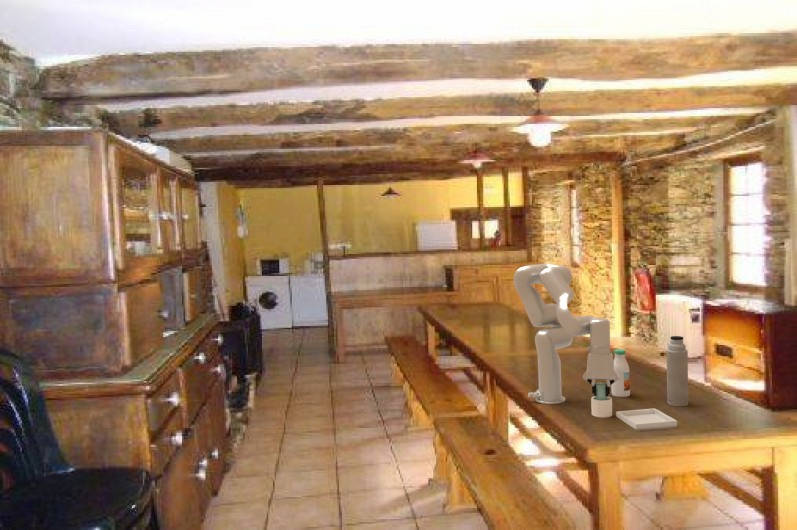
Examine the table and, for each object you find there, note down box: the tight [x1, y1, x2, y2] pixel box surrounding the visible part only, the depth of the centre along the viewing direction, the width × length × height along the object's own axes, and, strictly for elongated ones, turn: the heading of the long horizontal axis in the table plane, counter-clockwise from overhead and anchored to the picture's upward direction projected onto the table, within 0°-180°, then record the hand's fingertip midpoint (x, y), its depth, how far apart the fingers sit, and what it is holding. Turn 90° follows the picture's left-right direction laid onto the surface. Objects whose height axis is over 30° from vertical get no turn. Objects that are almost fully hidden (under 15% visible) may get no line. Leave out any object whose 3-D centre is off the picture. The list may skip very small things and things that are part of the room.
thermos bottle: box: [666, 335, 689, 407], centre depth 264 cm, size 8×8×28 cm
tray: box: [615, 408, 678, 432], centre depth 244 cm, size 16×16×2 cm
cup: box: [590, 395, 613, 418], centre depth 254 cm, size 8×8×7 cm
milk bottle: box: [610, 348, 631, 398], centre depth 281 cm, size 8×8×20 cm
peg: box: [595, 382, 607, 401], centre depth 254 cm, size 4×4×12 cm
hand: (601, 395), depth 254 cm, fingers closed on peg, 4 cm apart
